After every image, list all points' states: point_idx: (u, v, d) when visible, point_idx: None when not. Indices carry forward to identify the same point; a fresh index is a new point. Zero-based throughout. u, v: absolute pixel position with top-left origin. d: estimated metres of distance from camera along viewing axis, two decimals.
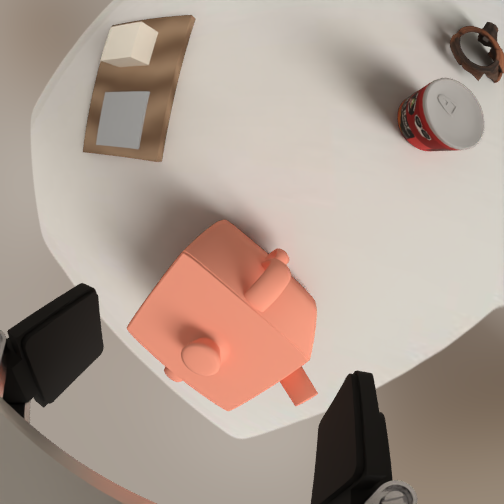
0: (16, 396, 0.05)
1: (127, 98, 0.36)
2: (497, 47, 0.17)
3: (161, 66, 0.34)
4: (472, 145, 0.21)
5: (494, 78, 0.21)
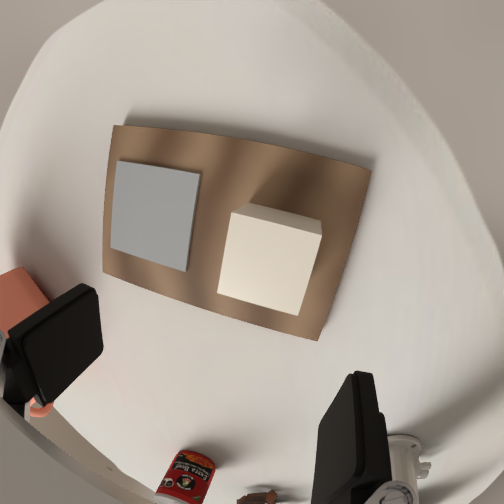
0: (15, 396, 0.05)
1: (178, 230, 0.25)
2: None
3: None
4: (160, 503, 0.31)
5: None
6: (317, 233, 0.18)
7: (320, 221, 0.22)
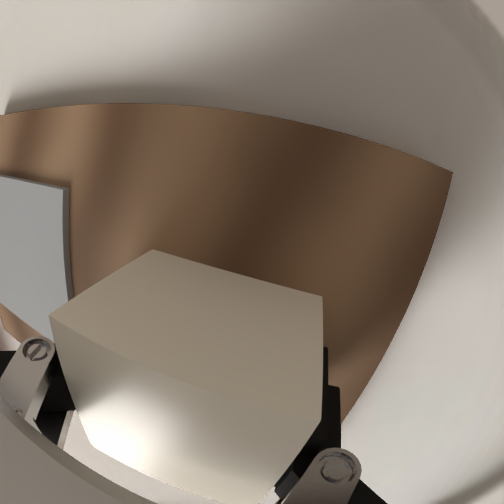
0: (62, 404, 0.06)
1: (53, 292, 0.11)
2: None
3: None
4: None
5: None
6: (305, 407, 0.04)
7: (321, 302, 0.08)
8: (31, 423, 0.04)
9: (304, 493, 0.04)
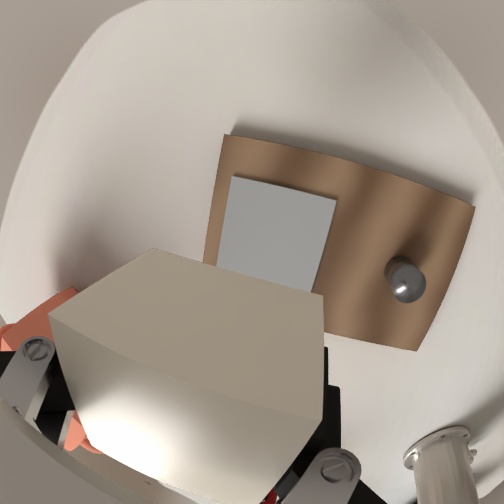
0: (62, 404, 0.06)
1: (307, 255, 0.24)
2: None
3: (348, 314, 0.26)
4: None
5: None
6: (306, 407, 0.04)
7: (322, 301, 0.08)
8: (31, 423, 0.04)
9: (304, 493, 0.04)
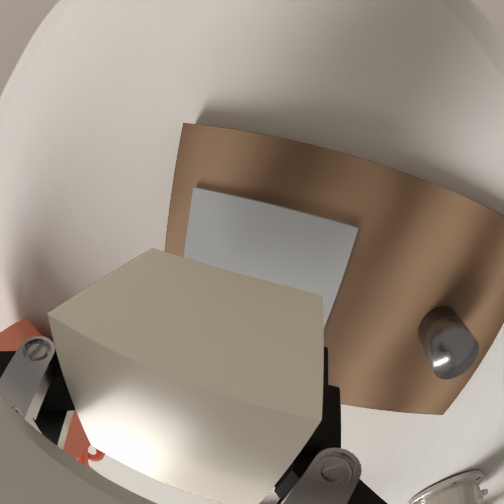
0: (62, 404, 0.06)
1: None
2: None
3: (362, 381, 0.17)
4: None
5: None
6: (306, 407, 0.04)
7: (322, 301, 0.08)
8: (31, 423, 0.04)
9: (304, 493, 0.04)
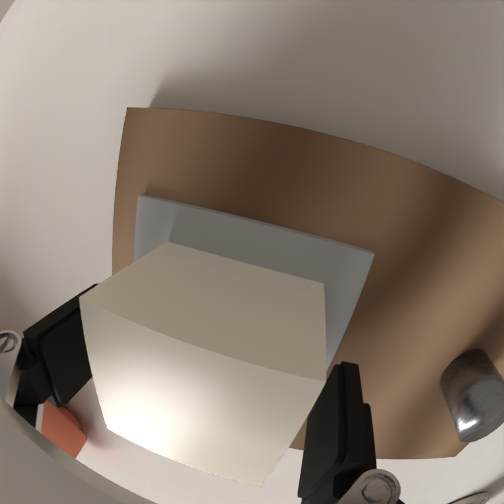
0: (30, 397, 0.06)
1: None
2: None
3: None
4: None
5: None
6: (312, 371, 0.05)
7: (323, 288, 0.09)
8: None
9: None
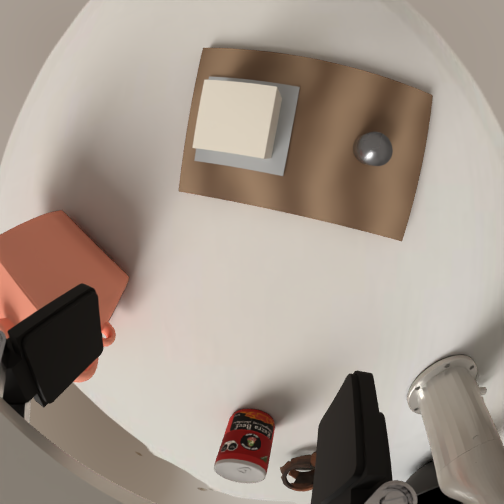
0: (15, 396, 0.05)
1: (278, 135, 0.25)
2: (302, 490, 0.38)
3: (323, 194, 0.27)
4: None
5: (282, 479, 0.41)
6: None
7: (281, 97, 0.23)
8: None
9: None
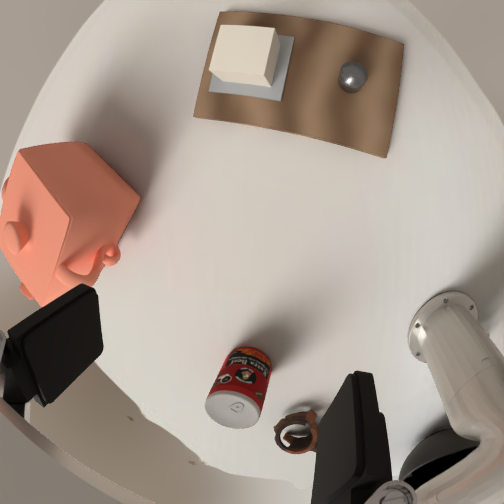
0: (15, 396, 0.05)
1: (276, 70, 0.28)
2: (297, 453, 0.40)
3: (314, 115, 0.30)
4: (210, 416, 0.35)
5: (275, 440, 0.43)
6: None
7: (279, 43, 0.27)
8: None
9: None
